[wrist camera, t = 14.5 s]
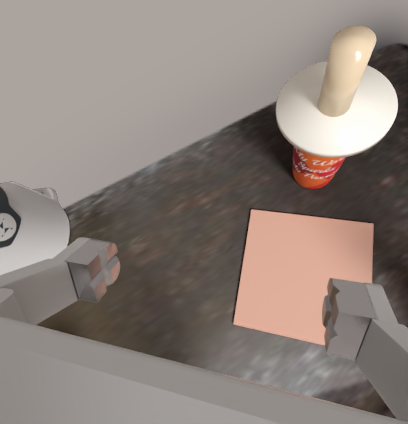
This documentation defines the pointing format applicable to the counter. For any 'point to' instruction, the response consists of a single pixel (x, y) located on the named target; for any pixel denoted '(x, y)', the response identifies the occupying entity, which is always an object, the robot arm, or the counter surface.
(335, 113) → the lid
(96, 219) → the counter surface
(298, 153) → the paper cup
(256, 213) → the mat
